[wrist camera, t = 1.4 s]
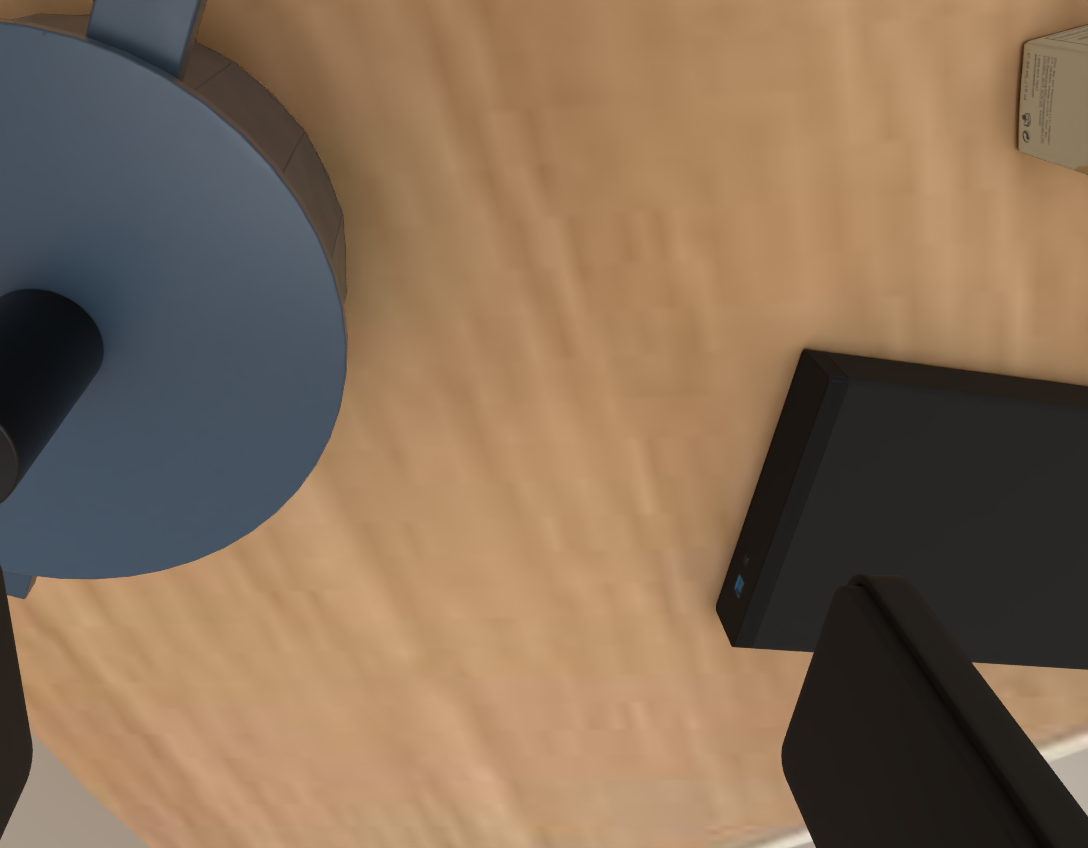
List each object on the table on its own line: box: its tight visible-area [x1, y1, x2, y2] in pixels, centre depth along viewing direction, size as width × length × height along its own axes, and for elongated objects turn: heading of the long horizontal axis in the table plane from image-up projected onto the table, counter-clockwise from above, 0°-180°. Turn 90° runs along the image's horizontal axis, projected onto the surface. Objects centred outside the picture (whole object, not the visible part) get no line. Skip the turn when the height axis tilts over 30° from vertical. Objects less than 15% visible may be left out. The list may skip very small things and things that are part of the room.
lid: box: [0, 19, 348, 579], centre depth 24 cm, size 17×17×8 cm
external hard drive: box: [716, 350, 1088, 670], centre depth 44 cm, size 14×23×3 cm, turn 79°
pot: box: [2, 0, 347, 599], centre depth 30 cm, size 16×21×8 cm
